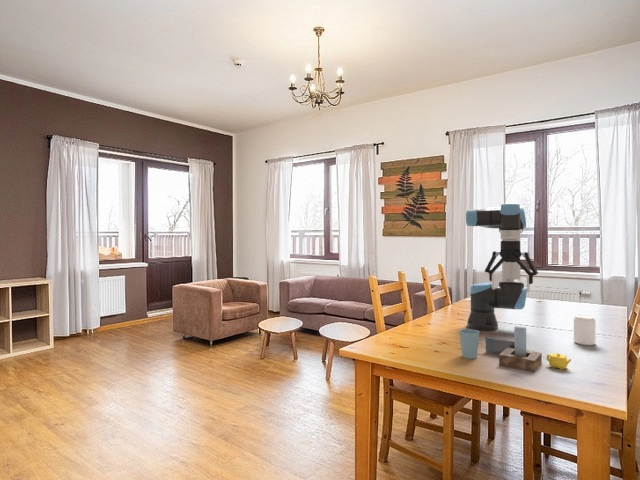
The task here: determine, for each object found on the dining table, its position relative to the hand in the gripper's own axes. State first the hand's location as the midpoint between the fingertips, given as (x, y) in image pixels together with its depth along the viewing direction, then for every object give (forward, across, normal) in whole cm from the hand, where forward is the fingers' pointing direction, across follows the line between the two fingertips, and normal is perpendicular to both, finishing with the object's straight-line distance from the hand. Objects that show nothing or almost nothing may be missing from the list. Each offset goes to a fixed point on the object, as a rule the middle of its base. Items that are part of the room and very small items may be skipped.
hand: (510, 290), depth 166 cm
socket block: (+25, +8, -18) cm, 31 cm away
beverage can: (+26, +24, +29) cm, 46 cm away
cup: (+25, -11, -20) cm, 34 cm away
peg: (+25, +8, -18) cm, 32 cm away
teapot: (+25, +20, -13) cm, 35 cm away
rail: (+25, 0, -10) cm, 27 cm away
